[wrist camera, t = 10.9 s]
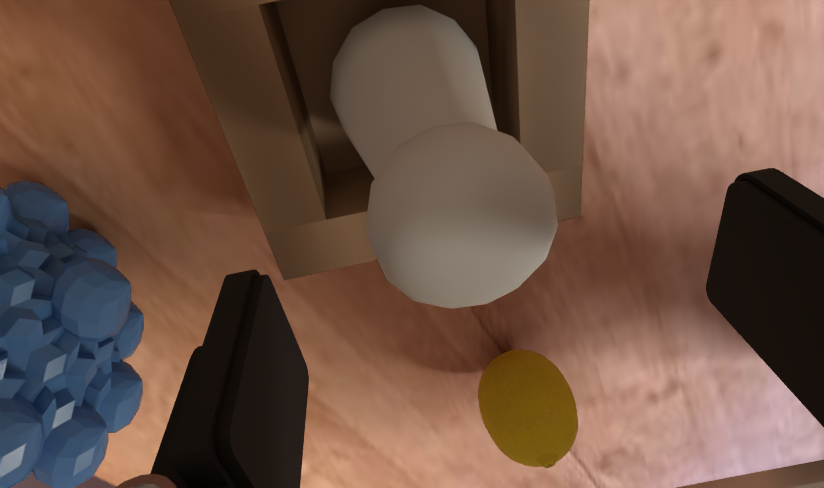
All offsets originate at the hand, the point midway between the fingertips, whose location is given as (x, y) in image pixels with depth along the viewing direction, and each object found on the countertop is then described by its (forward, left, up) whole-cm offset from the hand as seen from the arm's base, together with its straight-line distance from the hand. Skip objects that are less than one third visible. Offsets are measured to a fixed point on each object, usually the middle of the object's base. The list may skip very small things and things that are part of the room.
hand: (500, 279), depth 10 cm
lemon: (-3, +19, -15) cm, 25 cm away
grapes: (+16, +4, -15) cm, 22 cm away
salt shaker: (0, 0, -14) cm, 14 cm away
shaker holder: (+1, -1, -14) cm, 14 cm away
